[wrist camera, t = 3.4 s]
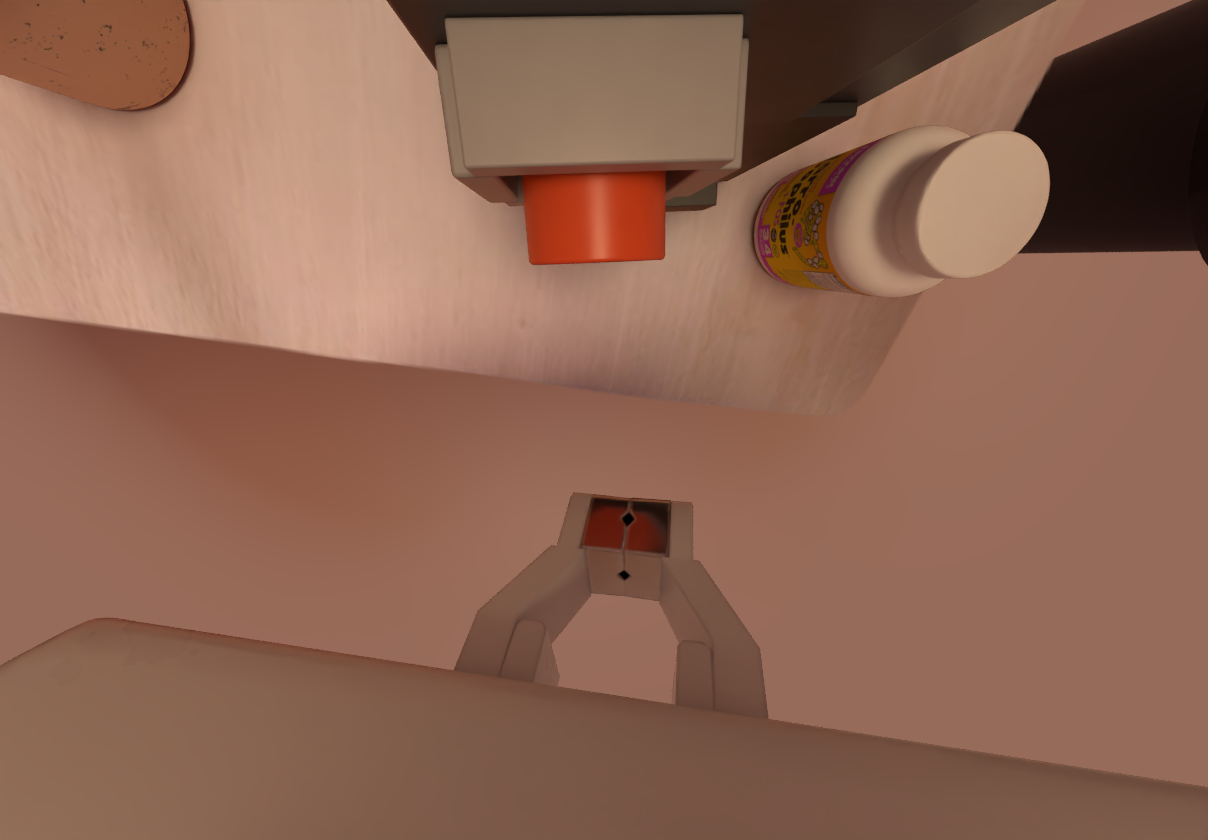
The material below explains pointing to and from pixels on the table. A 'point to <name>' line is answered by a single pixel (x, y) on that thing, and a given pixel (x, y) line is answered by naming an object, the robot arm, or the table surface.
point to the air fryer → (670, 80)
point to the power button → (595, 217)
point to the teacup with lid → (96, 48)
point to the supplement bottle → (904, 212)
